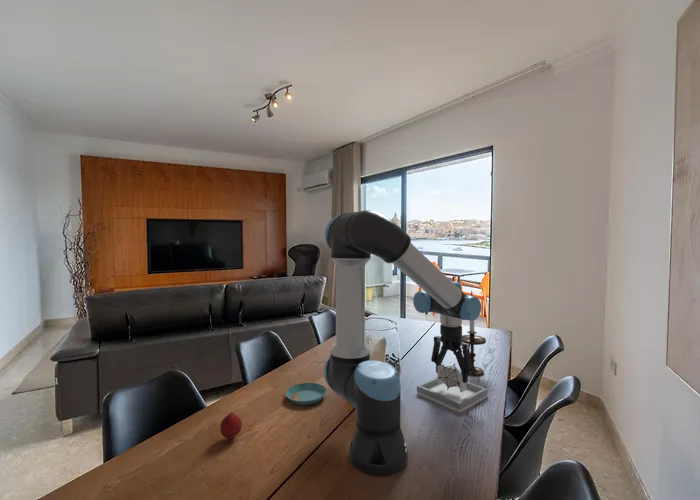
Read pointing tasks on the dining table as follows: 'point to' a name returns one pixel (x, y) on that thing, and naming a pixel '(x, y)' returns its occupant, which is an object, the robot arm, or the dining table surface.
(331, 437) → the dining table surface
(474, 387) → the tray
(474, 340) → the candlestick
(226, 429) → the onion
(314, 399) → the saucer
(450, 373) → the game die
